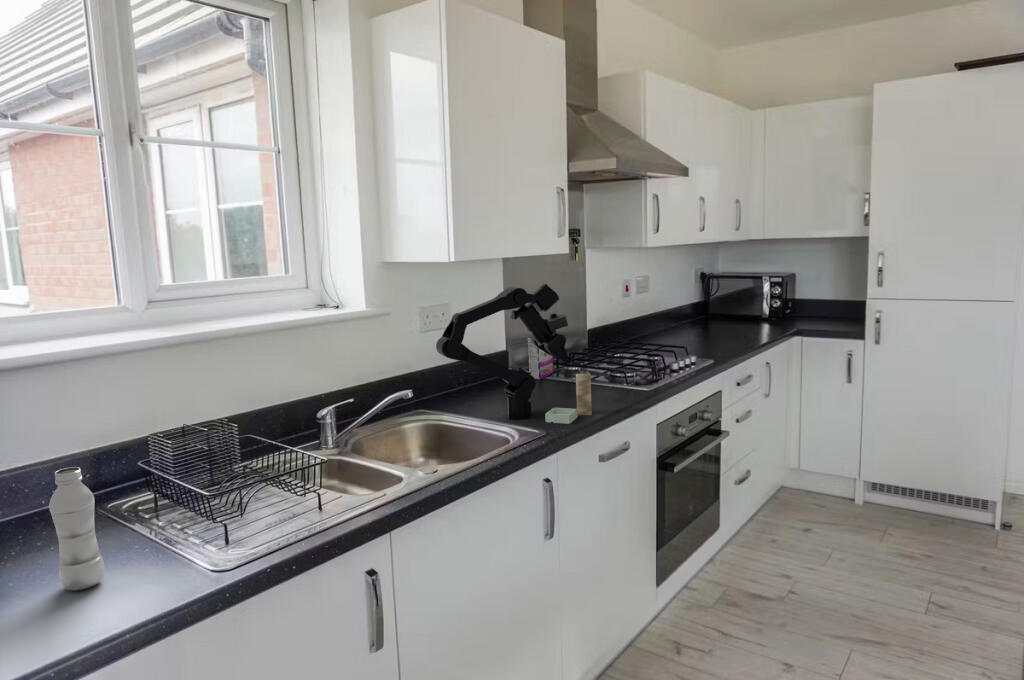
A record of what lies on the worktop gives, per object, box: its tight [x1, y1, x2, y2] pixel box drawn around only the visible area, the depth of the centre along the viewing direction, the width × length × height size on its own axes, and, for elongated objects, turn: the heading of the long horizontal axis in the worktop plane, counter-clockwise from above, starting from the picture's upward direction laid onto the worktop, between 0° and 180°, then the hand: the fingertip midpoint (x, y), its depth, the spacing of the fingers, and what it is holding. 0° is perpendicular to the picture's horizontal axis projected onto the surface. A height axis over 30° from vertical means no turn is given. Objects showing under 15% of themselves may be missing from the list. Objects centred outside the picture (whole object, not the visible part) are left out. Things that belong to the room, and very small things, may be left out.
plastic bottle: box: [48, 466, 105, 592], centre depth 115 cm, size 6×7×20 cm
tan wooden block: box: [575, 372, 593, 416], centre depth 213 cm, size 4×4×12 cm
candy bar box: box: [526, 335, 555, 380], centre depth 270 cm, size 11×5×16 cm, turn 147°
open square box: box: [544, 407, 579, 425], centre depth 207 cm, size 7×7×3 cm
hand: (564, 361), depth 214 cm, fingers open, 9 cm apart
